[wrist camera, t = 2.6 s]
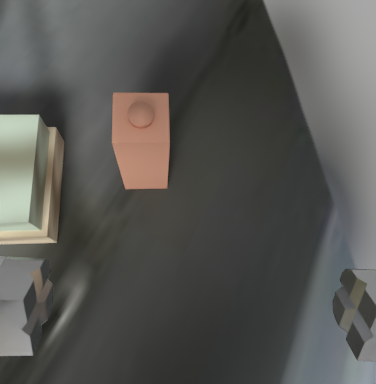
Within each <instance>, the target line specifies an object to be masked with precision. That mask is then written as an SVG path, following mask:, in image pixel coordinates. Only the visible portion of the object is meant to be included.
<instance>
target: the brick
mask: <svg viewBox="0 0 376 384" xmlns="http://www.w3.org/2000/svg"><path fill="white" fill-rule="evenodd" d="M112 145H113V148H114V152H115V155H116V159H117V162H118V165H119V169H120V172H121V176H122V179H123V183H124V186H125V189H158V188H167V185H168V167H169V149H170V130H169V95H168V93H113V118H112Z"/></svg>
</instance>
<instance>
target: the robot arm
mask: <svg viewBox="0 0 376 384" xmlns="http://www.w3.org/2000/svg"><path fill="white" fill-rule="evenodd" d="M50 272H51V269H50V263H49V260H47V259H43V258H25V257H3V256H0V356H33V355H34V352H35V350H36V347H37V345H38V343H39V340H40V338H41V335H42V329H41V324H43V323H44V322H45V321H47V320H48V318H49V315H50V312H51V309H52V304H53V284H52V283H51V282H50V281H49V280H48V276H49V274H50ZM340 282H341V284H342V285H343V287H341V288H340V289H339V290H338V291H337V292H335V296H334V299H333V313H334V316H335V319H336V321H337V323H338V325H339V327H341V328H342V329H343V330H345V331H346V332H347V333H348V334H347V338H346V340H347V342H348V344H349V346H350V348H351V350H352V352H353V354H354V355H355V357H356V359H357V361H376V270H367V269H345V271H344V272H343V273H342V275H341V278H340Z"/></svg>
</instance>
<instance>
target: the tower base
mask: <svg viewBox="0 0 376 384" xmlns="http://www.w3.org/2000/svg"><path fill="white" fill-rule="evenodd" d="M63 154H64V140H63V138H62V137H61V135H60V133H59V131H58V130H57V128H56V127H46V125H45V123H44V122H43V120H42V119H41V117H40V115H0V244H30V243H57V237H58V223H59V210H60V196H61V182H62V168H63Z"/></svg>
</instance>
